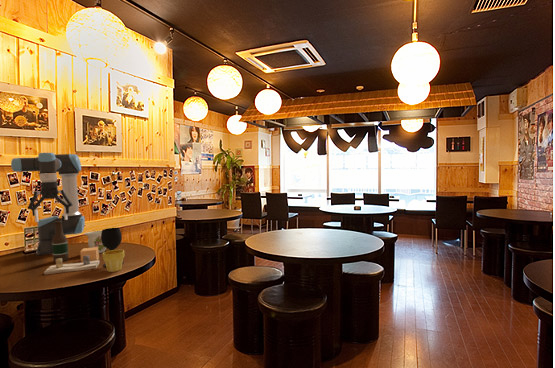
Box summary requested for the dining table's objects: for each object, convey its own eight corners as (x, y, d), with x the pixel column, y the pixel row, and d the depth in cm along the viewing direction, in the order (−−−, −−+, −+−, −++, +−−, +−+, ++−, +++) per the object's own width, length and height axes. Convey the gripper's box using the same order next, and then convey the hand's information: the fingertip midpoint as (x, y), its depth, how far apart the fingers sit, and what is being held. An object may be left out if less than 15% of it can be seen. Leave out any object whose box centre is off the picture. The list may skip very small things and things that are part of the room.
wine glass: (127, 262, 192) (125, 227, 191) (113, 267, 182) (110, 231, 181) (113, 261, 195) (111, 227, 194) (98, 266, 186) (96, 230, 184)
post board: (51, 268, 186) (50, 257, 185) (99, 262, 194) (99, 252, 193) (44, 274, 174) (43, 263, 174) (96, 268, 182) (95, 257, 182)
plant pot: (119, 265, 185) (118, 248, 185) (129, 269, 179) (127, 250, 178) (100, 270, 177) (98, 252, 177) (109, 274, 171) (107, 255, 170)
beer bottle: (61, 262, 197) (58, 222, 195) (50, 262, 198) (46, 222, 197) (71, 259, 204) (69, 219, 203) (61, 258, 206) (58, 219, 204)
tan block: (84, 260, 201) (83, 248, 200) (99, 258, 203) (98, 246, 203) (81, 263, 193) (80, 251, 193) (96, 261, 196) (95, 249, 195)
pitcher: (117, 250, 223) (116, 229, 222) (88, 256, 209) (86, 234, 209) (111, 247, 230) (109, 227, 229) (82, 253, 217) (80, 232, 216)
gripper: (18, 183, 173) (21, 223, 175) (73, 180, 181) (76, 219, 183) (24, 182, 181) (27, 221, 182) (76, 180, 188) (79, 217, 190)
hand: (51, 220), depth 182 cm, fingers open, 13 cm apart
